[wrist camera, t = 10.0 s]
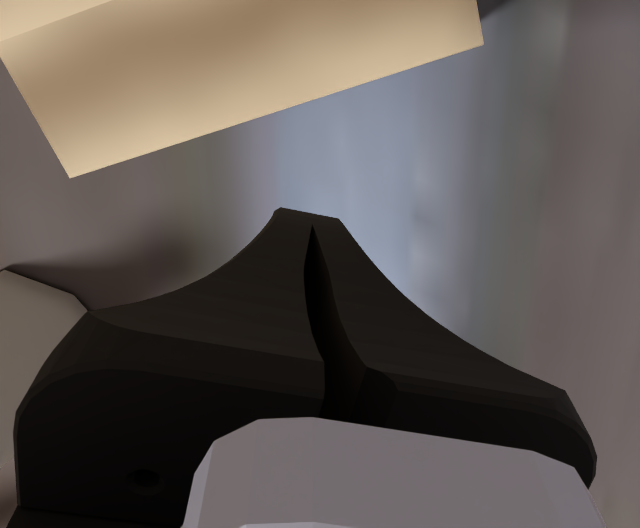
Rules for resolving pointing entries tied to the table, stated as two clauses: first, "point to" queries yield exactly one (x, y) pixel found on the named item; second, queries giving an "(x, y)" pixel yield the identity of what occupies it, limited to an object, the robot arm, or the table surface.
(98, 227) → the table surface
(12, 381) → the flask
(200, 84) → the birch board
